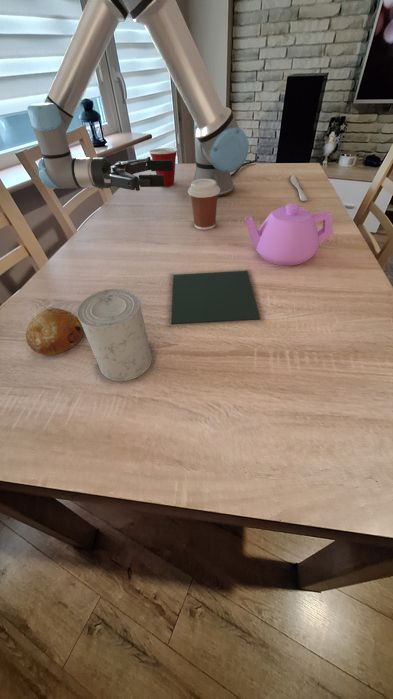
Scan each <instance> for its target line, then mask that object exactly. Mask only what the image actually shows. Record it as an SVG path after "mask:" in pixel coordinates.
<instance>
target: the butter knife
mask: <svg viewBox="0 0 393 699" xmlns="http://www.w3.org/2000/svg"><path fill="white" fill-rule="evenodd" d="M290 182H291V184H292V185H293V186H294V187H295V188H296V189H297V192H298V197H299V199H300V201H302V202H307V201H308V197H307V195H306V193H305V192H304V191H303V189H302V188H301V186H300V184H299V181H298V179H297V178H296V175H291V177H290Z"/></svg>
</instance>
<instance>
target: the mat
mask: <svg viewBox="0 0 393 699" xmlns="http://www.w3.org/2000/svg"><path fill="white" fill-rule="evenodd" d="M249 275H250V274H249V272H248V270H236V271H235V270H233V271H217V272H199V273H197V272H196V273H182V274H173V276H172V295H171V297H172V299H171V316H170V317H171V318H170V324H171V325H180V324H181V325H182V324H200V323H201V324H202V323H218V322H236V321H237V322H238V321H240V322H241V321H258V320H261V316H260V312H259V309H258V305H257V301H256V299H255V294H254V291H253V287H252V282H251V279H250V276H249Z"/></svg>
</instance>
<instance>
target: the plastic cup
mask: <svg viewBox="0 0 393 699" xmlns="http://www.w3.org/2000/svg"><path fill="white" fill-rule="evenodd" d="M148 153H149V155H150V158H151V160H172V162H173V171H155V175H164V184H165V186H164V187H171V186H173V185H174V184H175V183H174V182H175V175H176V160H177V153H178V148H176V147H160V148H152V149H149V150H148Z"/></svg>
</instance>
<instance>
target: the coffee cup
mask: <svg viewBox="0 0 393 699" xmlns="http://www.w3.org/2000/svg"><path fill="white" fill-rule="evenodd" d="M219 192H220V188H219V186H217V184H216V181H215V180H213V179H198V180H195V181H194V180H193V181H192V182H191V185H190V187H189V188H188V189H187V193H188V195H189V196H190V200H191V209H192V216H193V223H194V225H193V226H194V227H195V228H196V229H198V230H204V231H205V230H211V229H213V228H214V227H216V220H217V207H218V197H217V196H218V194H219Z"/></svg>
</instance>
